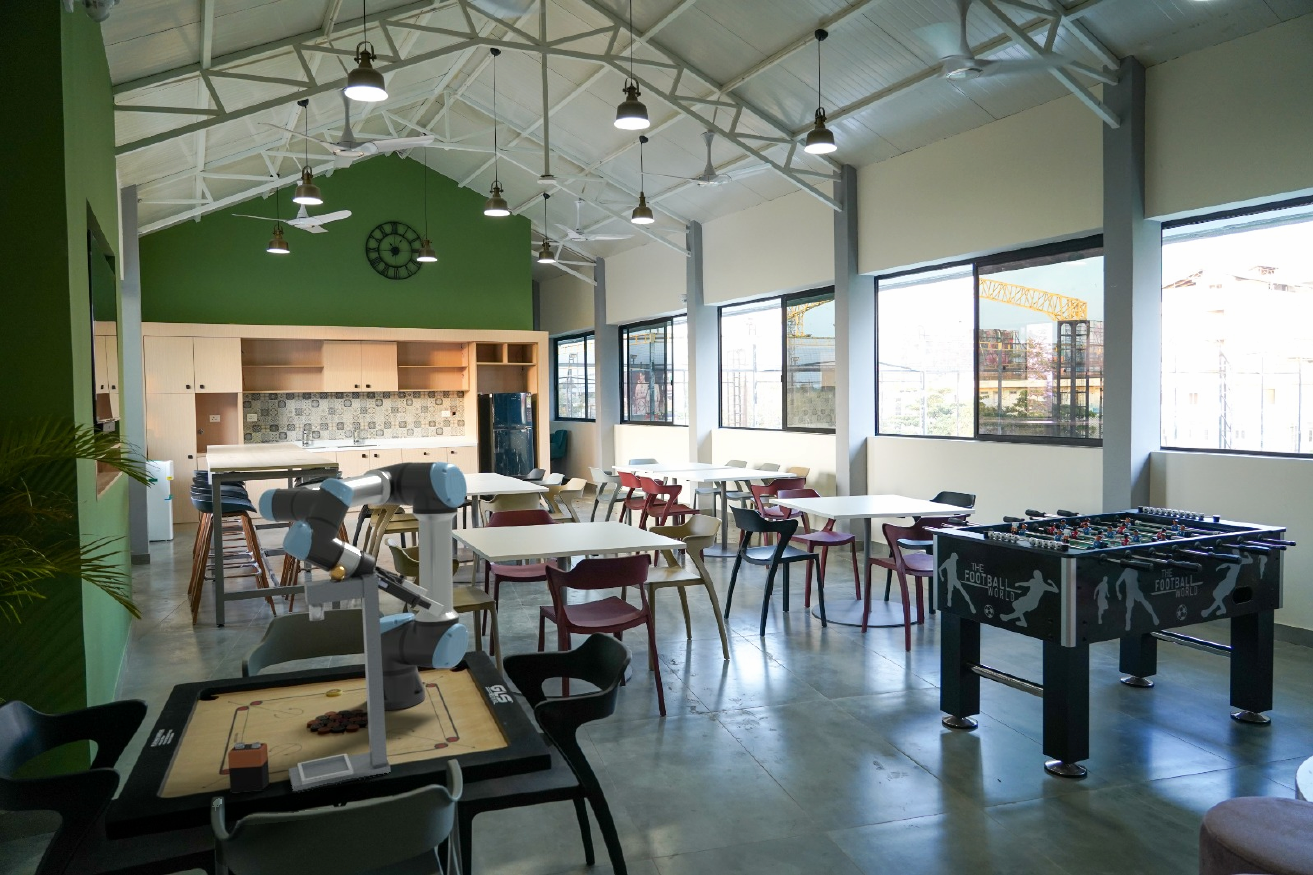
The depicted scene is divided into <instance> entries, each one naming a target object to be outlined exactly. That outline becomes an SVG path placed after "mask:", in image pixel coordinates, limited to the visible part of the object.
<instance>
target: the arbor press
mask: <svg viewBox="0 0 1313 875" xmlns="http://www.w3.org/2000/svg"><path fill="white" fill-rule="evenodd" d="M330 575H331V577H330V579H329V578H327V579H320V580H319V579H318V580H313V581H312V580H311V581H304V582H303V583H304V587H303V588H304V599H305V600H304V601H305V602H306V605H307V606H308V613H309V615H308V616H309V617H308V618H309V621H310V622H319V621H322V620H324V619H325V608H324V604H325V603H326V604H327V603H334V602H335V603H336V602H342V601H343V602H344V601H349V600H356V599H361V607H362V608H361V609H362V628H363V629H362V630H363V646H364V647H363V649H364V665H365V666H364V668H365V688H366V689H365V690H366V706H367V707H366V708H367V710H366V711H367V728H368V729H367V730H368V745H369V746H368V747H369V748H368V749H369V750H368V751H369V752H364V753H360V754H354V755H349V756H348V754H347V753H341V754H336V755H332V756H327V757H323V758H322V757H320V758H316V759H310V760H307V761H302V762H297V766H293V767H290V768H288V777H289V780H290V784H291V785H292V786H291V785H290V786H291V789H293V790H292V792H293V791H298V790H303V789H308V788H311V787H315V786H319V785H323V784H327V783H335V782H339V781H342V780H346V779H351V778H359V777H364V776H370V775H376V774H383V775H385V774H384V773H387V774H390V773H389V772H391V771H392V770H391V765H390V762H389V761H388V759H387V758H388V757H387V739H386V738H387V737H386V736H387V735H386V718H385V717H386V716H385V710H384V693H383V673H382V653H381V633H380V618H381V617H380V616H381V615H380V601H379V600H380V598H379V597H380V595H379V589H378V576H377V575H376V574H375V573H374V574H366V575H361V576H358V577H345V575H346V571H345V569H344V568H343V567H342V566H335V567H333V568H332V569H331V572H330Z"/></svg>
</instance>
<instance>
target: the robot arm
mask: <svg viewBox="0 0 1313 875" xmlns="http://www.w3.org/2000/svg"><path fill="white" fill-rule="evenodd" d="M467 493H468V488H467V481H466V478H465V474H463V471H462V470H461V468H460V467H458V466H457V465H456V464H454V463H451V462H442V461H436V462H434V461H432V462H413V461H412V462H410V461H408V462H401V463H396V464H390V465H386V466H383V467H378V468H374V469H369V470H367V471H365V473H364V474H361V475H357V476H351V477H344V478H332V477H331V478H326V479H325V480H323V481H322V482H318V483H312V484H306V485H300V486H296V487H290V488H279V487H278V488H272V489H267V490H265V491H264V492H263V493H262V494H261V495H260V497H259V499H258V511H259V515H260V516H261V517H262V518H263V519H264V520H266V521H269V522H276V523H281V522H283V523H286V522H287V523H288V522H289V523H292V525H291V526H290V527H289V529H288V531H287V532H286V533H285V536H284V538H283V540H282V549H283V551H284V552H285V553H286V554H287V555H290V556H292V557H293V558H296V559H297V560H298V561H300V562H304V563H307V564H309V565H311V566H313V567H316V568H318V569H320V570H322V571H325V572H326V573H328V576H329V578H331V575H330V572H331V569H332V568H333V567H335V566H342V567H343V568H344V569H345V571H346V575H345V577H358V576H361V575H366V574H374V573H375V574H376V575H377V576H378V590H381V591H383V592H384V593H385V592H386V593H387V594H389V595H391V596H393V597H395V598H397V599H398V600H400V601H402V602H403V603H406V604H408V605H409V606H410V609H411V610H412V609H413V610H414V608H418V609H419V611H418V612H417V613H416V614H414V613H412V612H404V613H396V614H391V615H386V616H383V617H380V633H381V653H382V673H383V693H384V711H394V710H400V709H407V708H411V707H414V706H416V705H418V704H421V703H422V702H423V701H425V699H426V688H425V685H424V683H423V681H422V678H421V675H420V673H419V670H418V667H424V668H435V669H437V670H438V669H452V668H454V667H456V666H457V665H459V663H460V662H461V661H462V660H463V658H464V656H465V654H466V652H467V649H468V644H469V632H468V629H467V627H466V626H465V625H463V624H462V623H460V615H459V613H458V612H457V611H456V610H455V609H454V595H453V594H454V591H453V589H454V588H453V587H454V586H453V583H454V581H453V580H454V578H453V575H454V573H453V570H454V569H453V518H455V516H456V515H457V514H458V509H459V508H458V507H460V506H463V504H464V503H465V500H466V499H465V498H466V497H467ZM364 505H372V506H373V507H375V506H383V505H392V506H393V505H395V506H396V505H397V506H404V507H405V506H406V507H407V506H408V507H409V506H410V507H412V515H413V516H414V517H415V518H416V519H417V520H418V565H419V566H418V570H419V571H418V572H419V573H418V576H419V577H418V580H419V582H418V583H419V585H417V584H415V583H413V582H411V581H409V580H407V579H405V577H406V576H405V575H404V574H399V575H398V573H395V572H392V571H389V570H387V569H384V568H382V567H381V566H378V565H376V563H377V562H376V560H377V559H376V557H375V556H374V555H373V554H370V553H369V552H366V551H364V550H360V549H359V547H356V546H354V545H352V544H351V543H349V542H347V541H344V540H342V539H340V538H338V537H337V536H338V534H339V532H340V529H341V527H342V525H343V523H344V520H345V518H346V516H347V514H348V511H349V510H350V509H351V508H356V507H360V506H364Z"/></svg>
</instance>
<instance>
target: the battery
mask: <svg viewBox="0 0 1313 875" xmlns="http://www.w3.org/2000/svg"><path fill="white" fill-rule="evenodd" d="M268 752H269V751H268V744H267V743H266V742H263V743H262V742H259V741H255V742H253V743H246V742H244V741H239V742H235V744H233V747H232V748H231V749H230V750H229V751H228V753H227V755H228V756H227V757H228V758H227V759H228V771H229V772H228V773H229V774H228V775H229V788H230V790H229V792H230V793H231V792H244V791H253V790H254V791H255V790H263V789H264V788H265V787H266V788H267V786H268V785H269V784H270V772H269V756H268V755H269V754H268ZM266 788H265V789H266ZM265 789H264V790H265ZM264 790H263V791H264Z"/></svg>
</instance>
